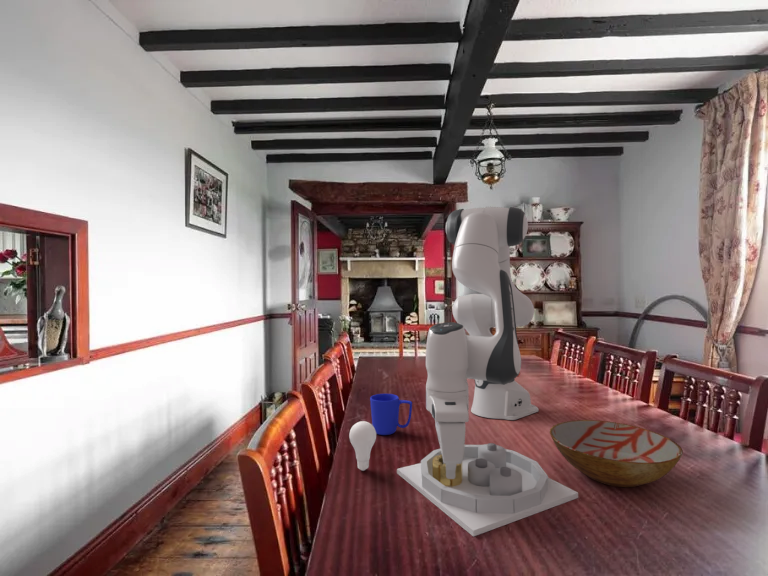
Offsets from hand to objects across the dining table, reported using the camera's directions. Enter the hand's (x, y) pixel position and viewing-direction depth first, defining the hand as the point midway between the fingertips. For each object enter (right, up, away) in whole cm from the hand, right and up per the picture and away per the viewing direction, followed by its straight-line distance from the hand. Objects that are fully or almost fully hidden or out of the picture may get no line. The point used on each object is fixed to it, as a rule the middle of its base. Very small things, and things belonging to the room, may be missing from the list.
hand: (447, 466), depth 85 cm
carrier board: (+7, -4, 0) cm, 8 cm away
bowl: (+36, -4, +4) cm, 37 cm away
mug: (-11, -4, +31) cm, 33 cm away
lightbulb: (-18, -4, +7) cm, 20 cm away
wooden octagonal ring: (0, -3, 0) cm, 3 cm away
